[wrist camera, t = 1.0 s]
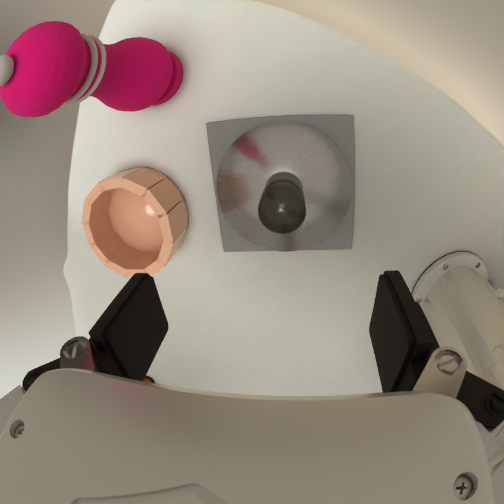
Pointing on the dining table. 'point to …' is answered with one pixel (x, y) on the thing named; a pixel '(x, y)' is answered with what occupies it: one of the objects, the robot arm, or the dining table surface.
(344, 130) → the mat
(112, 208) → the bowl
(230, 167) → the lid
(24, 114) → the pepper mill
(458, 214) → the dining table surface
